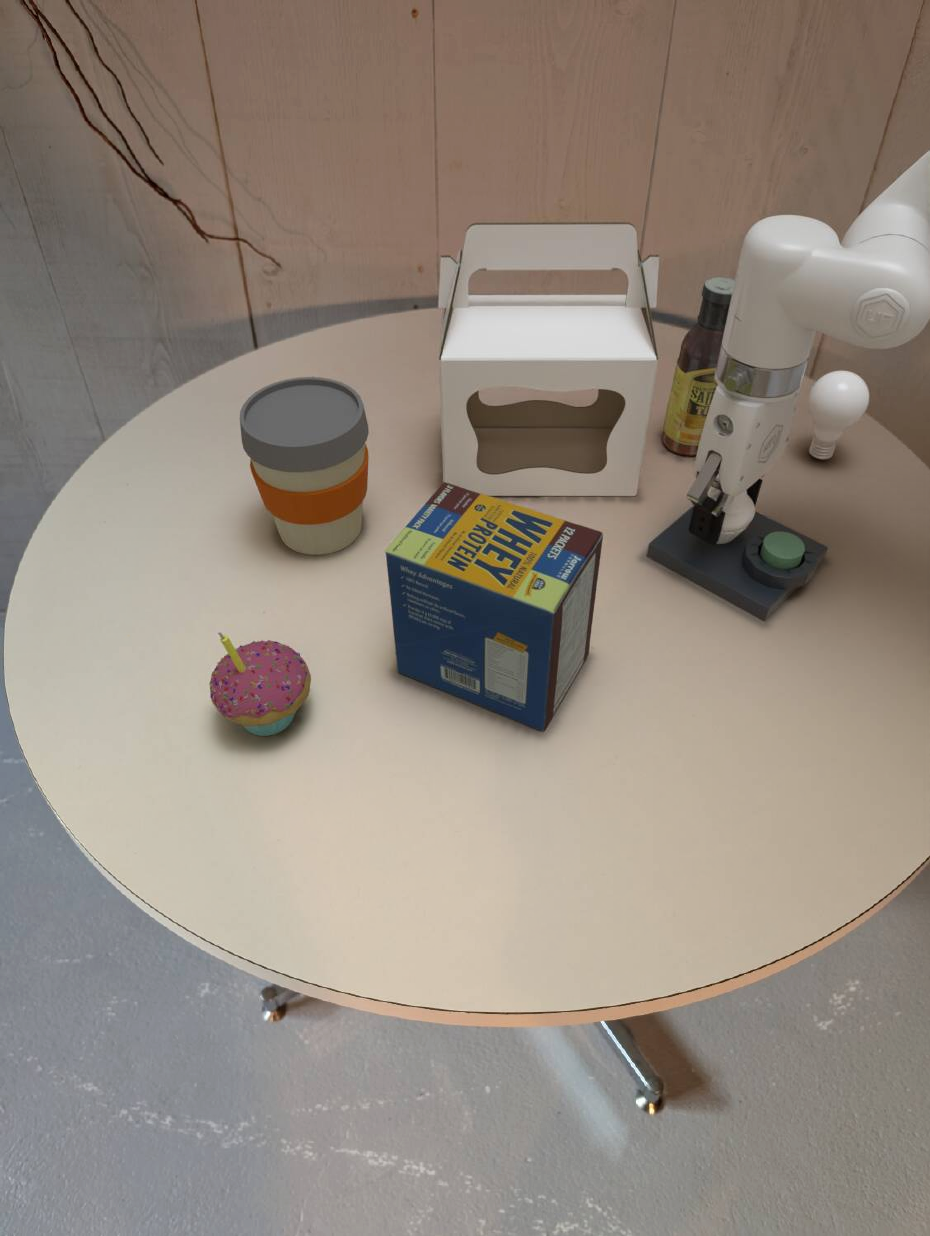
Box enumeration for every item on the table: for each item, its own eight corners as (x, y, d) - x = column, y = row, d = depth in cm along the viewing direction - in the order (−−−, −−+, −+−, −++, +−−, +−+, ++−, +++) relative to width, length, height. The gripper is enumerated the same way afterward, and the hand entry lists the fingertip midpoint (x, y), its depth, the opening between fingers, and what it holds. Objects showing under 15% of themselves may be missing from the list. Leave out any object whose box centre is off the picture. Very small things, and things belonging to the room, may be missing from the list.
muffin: (759, 545, 94) (775, 492, 89) (706, 559, 92) (720, 506, 87) (727, 509, 98) (741, 456, 93) (677, 522, 96) (687, 469, 91)
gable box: (626, 429, 111) (659, 194, 91) (638, 497, 102) (678, 254, 82) (445, 428, 112) (437, 195, 91) (441, 497, 103) (432, 254, 82)
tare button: (808, 555, 91) (812, 543, 90) (788, 575, 89) (792, 564, 88) (772, 537, 93) (776, 525, 92) (752, 557, 91) (755, 545, 90)
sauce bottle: (679, 464, 106) (711, 305, 92) (650, 435, 110) (676, 279, 96) (726, 450, 108) (764, 292, 94) (696, 422, 112) (728, 266, 98)
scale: (832, 564, 94) (841, 539, 92) (773, 627, 88) (781, 601, 86) (708, 502, 101) (714, 477, 99) (646, 556, 95) (650, 531, 93)
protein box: (447, 602, 91) (442, 478, 80) (590, 655, 86) (606, 531, 75) (394, 673, 85) (381, 550, 74) (544, 735, 80) (555, 613, 68)
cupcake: (242, 768, 78) (212, 679, 69) (206, 702, 83) (174, 611, 74) (332, 725, 81) (314, 634, 72) (292, 663, 86) (271, 571, 77)
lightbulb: (780, 456, 107) (805, 374, 99) (810, 434, 110) (836, 353, 102) (828, 480, 104) (857, 397, 96) (857, 457, 107) (888, 375, 99)
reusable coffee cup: (266, 574, 94) (238, 456, 83) (260, 499, 103) (234, 383, 92) (386, 557, 96) (374, 439, 85) (370, 484, 104) (357, 368, 93)
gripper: (746, 423, 74) (706, 581, 88) (846, 343, 83) (796, 497, 96) (669, 390, 78) (642, 546, 91) (772, 315, 87) (734, 468, 100)
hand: (721, 519), depth 93 cm, fingers closed on muffin, 6 cm apart
